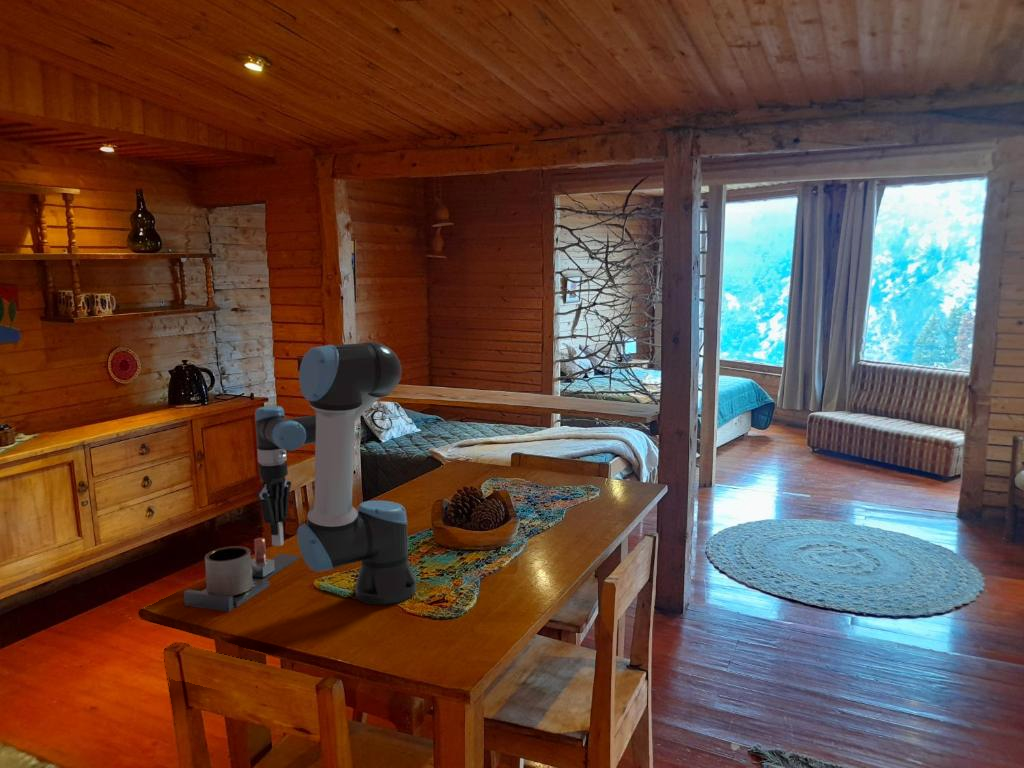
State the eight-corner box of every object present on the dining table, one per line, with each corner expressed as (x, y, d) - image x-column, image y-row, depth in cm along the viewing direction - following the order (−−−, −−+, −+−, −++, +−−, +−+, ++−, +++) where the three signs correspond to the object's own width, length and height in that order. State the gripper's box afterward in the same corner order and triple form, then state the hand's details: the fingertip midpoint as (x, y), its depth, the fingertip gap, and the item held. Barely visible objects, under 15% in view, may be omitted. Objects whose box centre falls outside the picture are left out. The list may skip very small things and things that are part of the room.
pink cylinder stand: (253, 583, 189) (251, 550, 187) (234, 580, 190) (231, 548, 189) (274, 570, 197) (272, 538, 196) (255, 567, 199) (253, 536, 198)
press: (229, 611, 175) (228, 598, 174) (185, 605, 179) (183, 591, 178) (309, 559, 207) (309, 547, 206) (270, 554, 211) (270, 543, 210)
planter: (256, 593, 182) (253, 556, 181) (209, 602, 177) (206, 565, 176) (249, 577, 192) (246, 542, 190) (204, 586, 187) (202, 550, 185)
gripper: (270, 469, 193) (275, 554, 196) (298, 457, 205) (302, 537, 209) (246, 467, 195) (252, 551, 198) (275, 456, 207) (280, 535, 211)
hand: (278, 544), depth 204 cm, fingers closed
